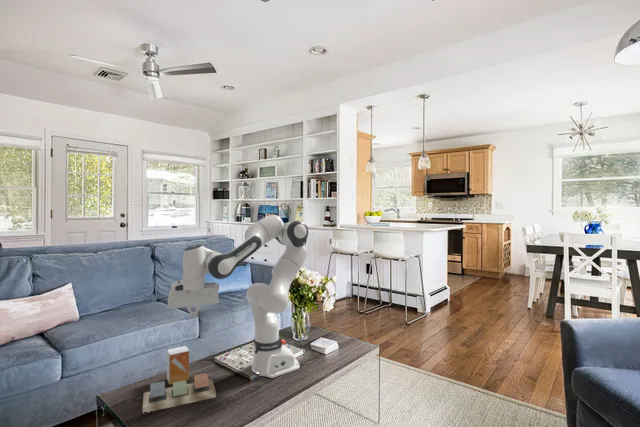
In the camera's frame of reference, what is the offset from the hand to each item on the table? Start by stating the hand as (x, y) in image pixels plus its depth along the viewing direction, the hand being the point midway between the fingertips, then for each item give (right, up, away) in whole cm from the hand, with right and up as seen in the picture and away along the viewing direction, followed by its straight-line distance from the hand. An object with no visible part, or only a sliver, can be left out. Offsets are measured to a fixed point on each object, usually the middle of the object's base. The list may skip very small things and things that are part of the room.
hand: (193, 316), depth 147 cm
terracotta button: (+5, -26, -6) cm, 27 cm away
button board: (-2, -30, -9) cm, 31 cm away
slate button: (-9, -26, -13) cm, 30 cm away
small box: (-8, -29, +4) cm, 31 cm away
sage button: (-2, -27, -10) cm, 29 cm away
